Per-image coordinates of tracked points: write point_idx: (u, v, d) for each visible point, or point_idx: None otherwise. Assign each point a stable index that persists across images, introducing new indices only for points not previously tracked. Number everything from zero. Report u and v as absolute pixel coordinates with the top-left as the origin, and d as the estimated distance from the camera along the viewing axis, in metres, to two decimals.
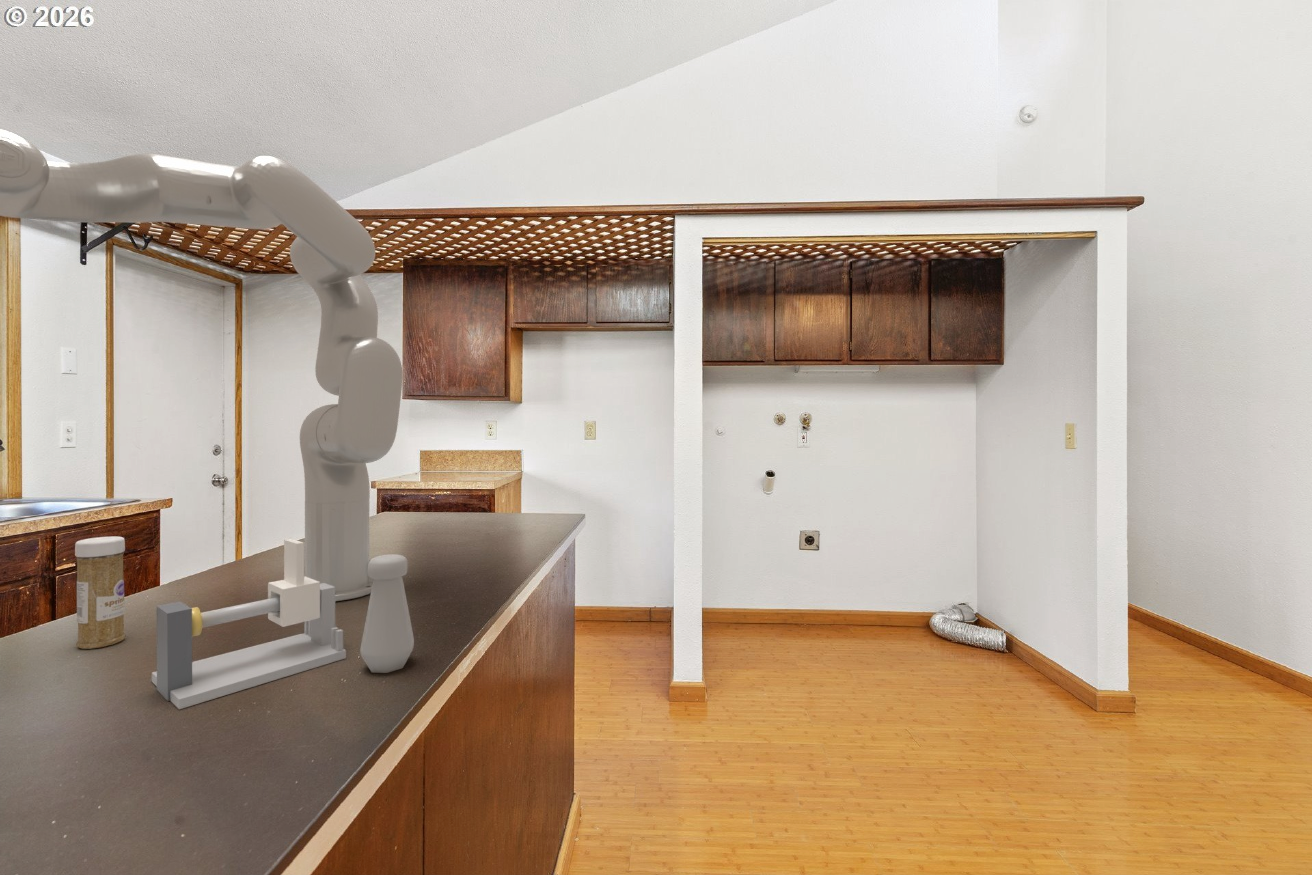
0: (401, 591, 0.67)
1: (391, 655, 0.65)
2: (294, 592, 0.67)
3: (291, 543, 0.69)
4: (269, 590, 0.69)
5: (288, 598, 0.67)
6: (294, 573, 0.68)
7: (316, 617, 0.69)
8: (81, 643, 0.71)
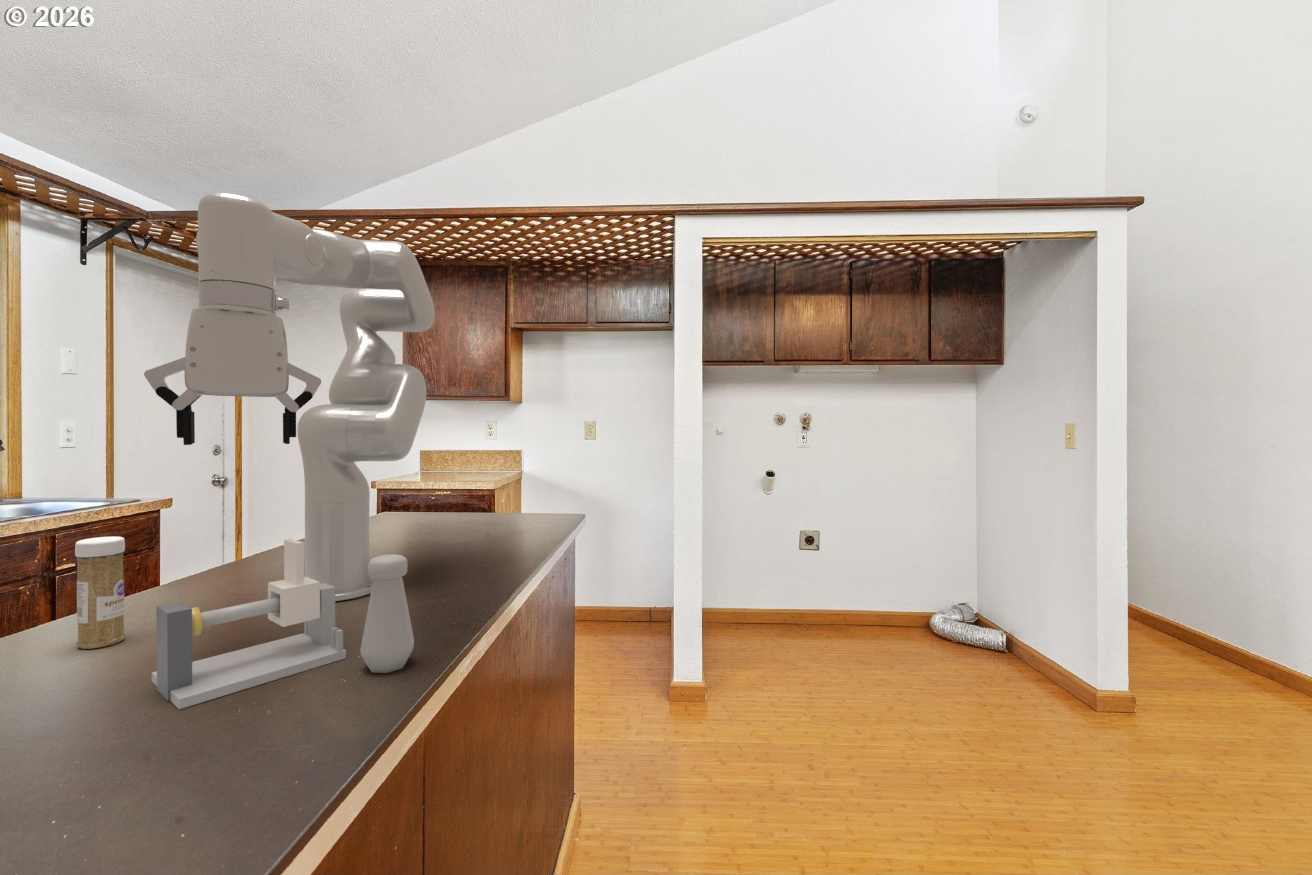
0: (401, 591, 0.67)
1: (391, 655, 0.65)
2: (294, 592, 0.67)
3: (291, 543, 0.69)
4: (269, 590, 0.69)
5: (288, 598, 0.67)
6: (294, 573, 0.68)
7: (316, 617, 0.69)
8: (81, 643, 0.71)
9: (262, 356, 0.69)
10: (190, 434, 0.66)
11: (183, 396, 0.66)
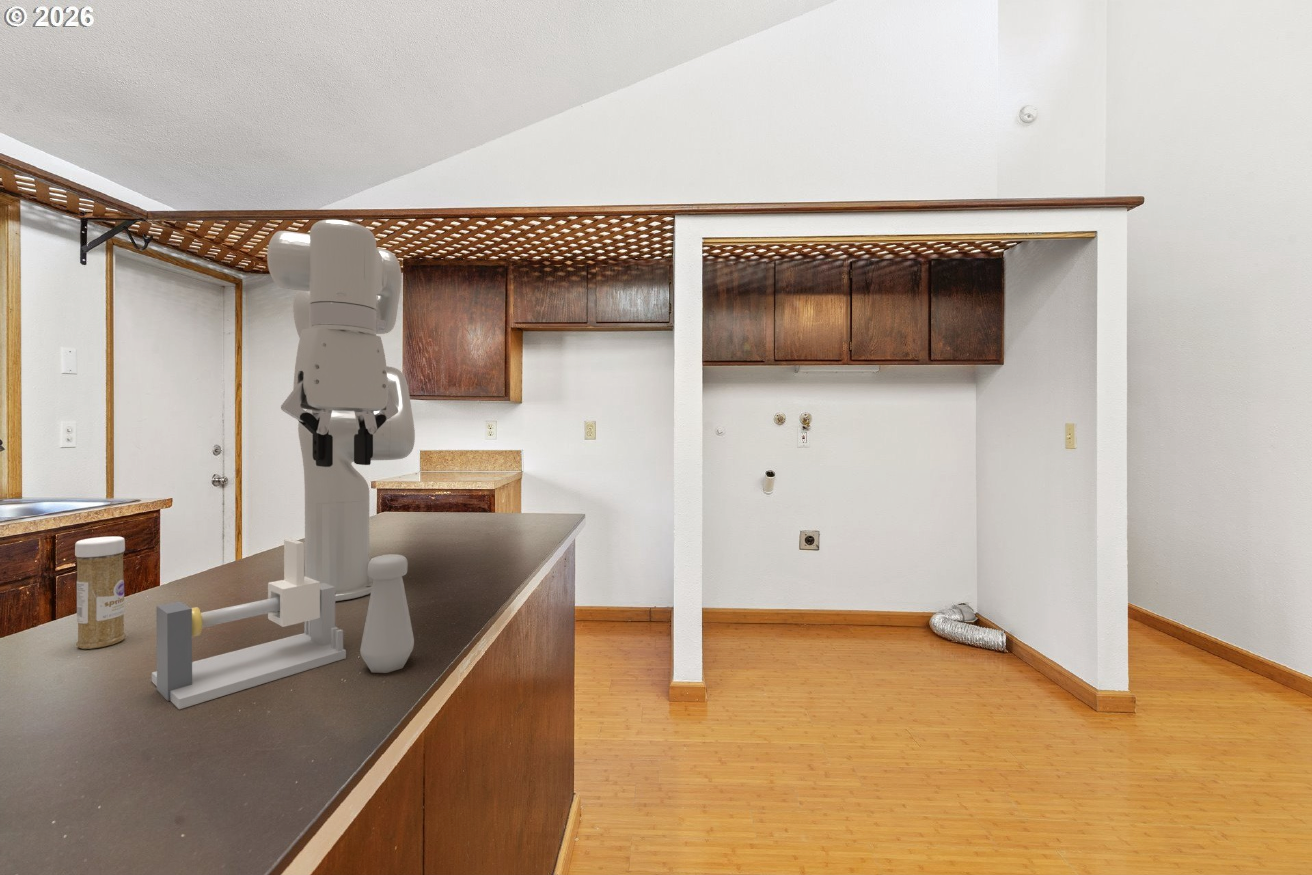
0: (401, 591, 0.67)
1: (391, 655, 0.65)
2: (294, 592, 0.67)
3: (291, 543, 0.69)
4: (269, 590, 0.69)
5: (288, 598, 0.67)
6: (294, 573, 0.68)
7: (316, 617, 0.69)
8: (81, 643, 0.71)
9: (371, 374, 0.74)
10: (331, 457, 0.71)
11: (322, 421, 0.70)
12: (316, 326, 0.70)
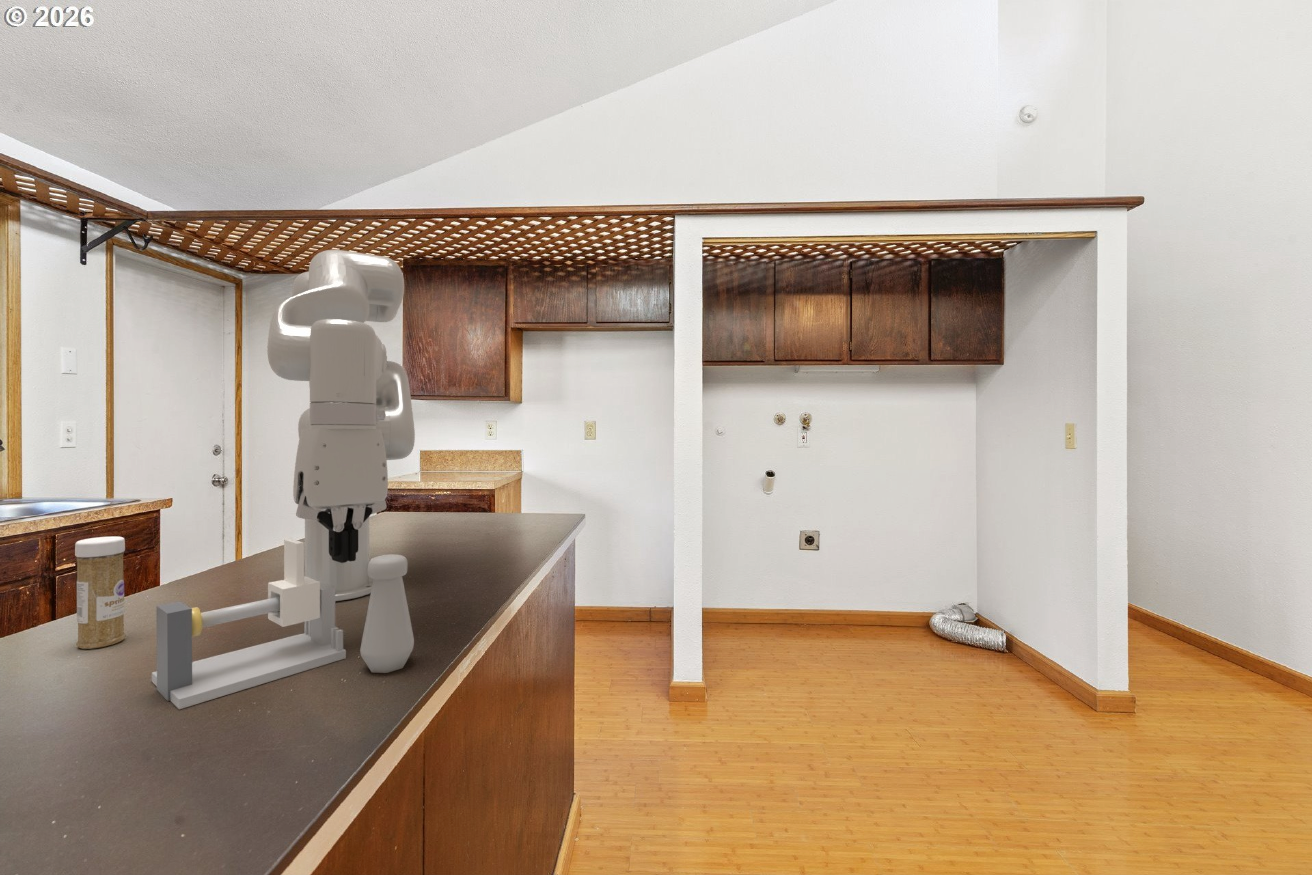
0: (401, 591, 0.67)
1: (391, 655, 0.65)
2: (294, 592, 0.67)
3: (291, 543, 0.69)
4: (269, 590, 0.69)
5: (288, 598, 0.67)
6: (294, 573, 0.68)
7: (316, 617, 0.69)
8: (81, 643, 0.71)
9: (371, 468, 0.74)
10: (347, 553, 0.73)
11: (335, 519, 0.71)
12: (316, 426, 0.70)
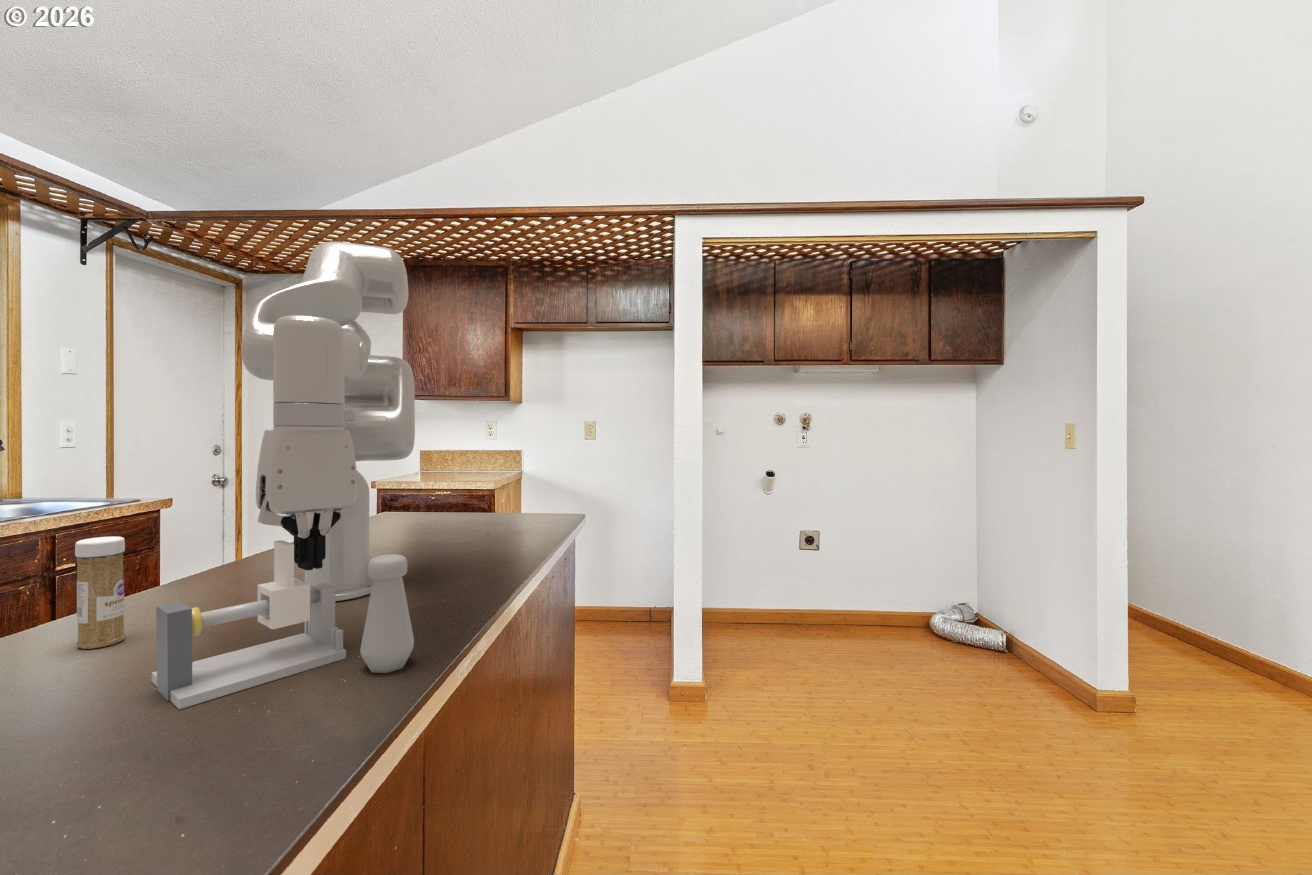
0: (401, 591, 0.67)
1: (391, 655, 0.65)
2: (284, 594, 0.66)
3: (281, 544, 0.68)
4: (259, 592, 0.68)
5: (278, 600, 0.66)
6: (284, 575, 0.67)
7: (306, 619, 0.68)
8: (81, 643, 0.71)
9: (339, 471, 0.71)
10: (313, 560, 0.69)
11: (300, 525, 0.68)
12: (279, 427, 0.67)
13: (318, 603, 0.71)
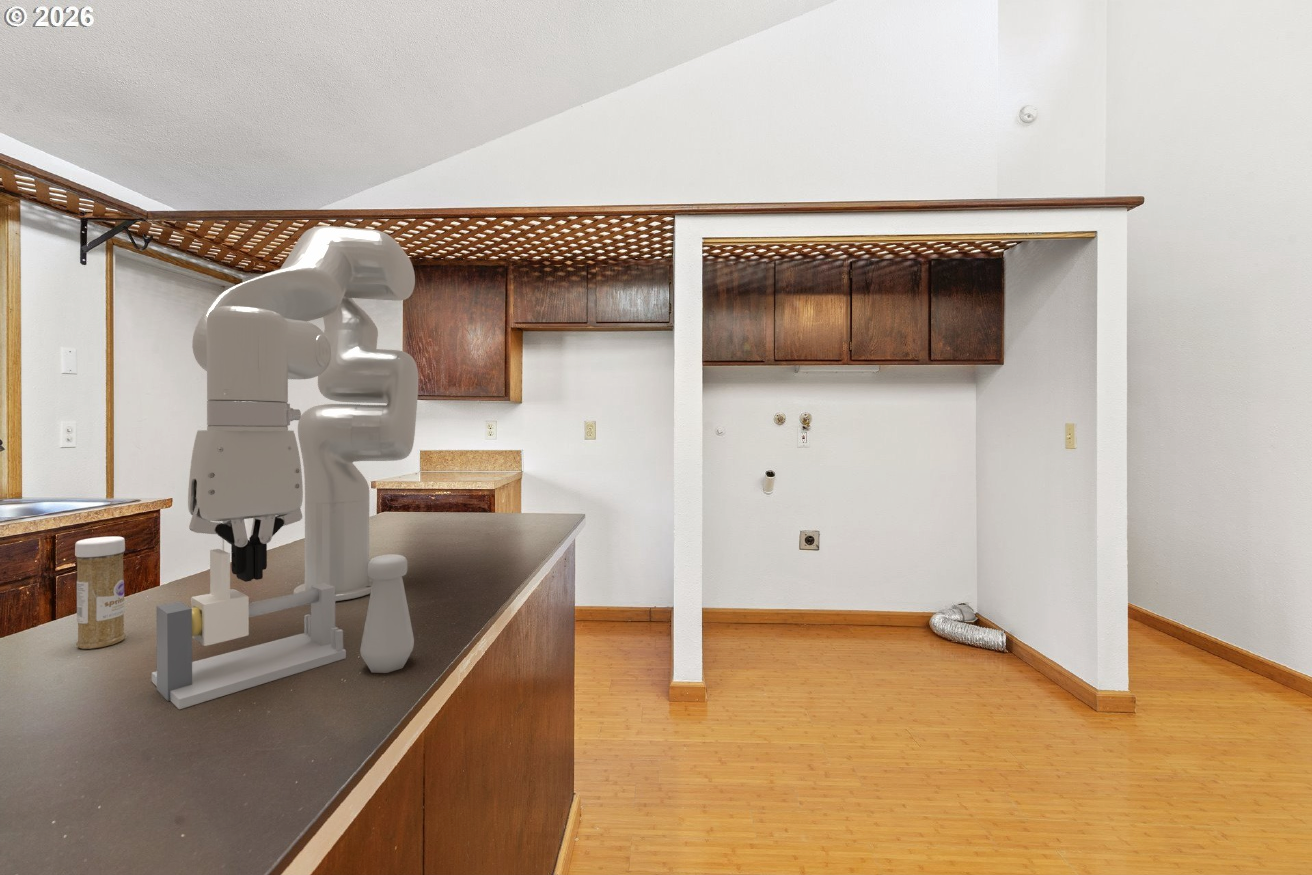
0: (401, 591, 0.67)
1: (391, 655, 0.65)
2: (218, 608, 0.61)
3: (216, 554, 0.63)
4: (193, 605, 0.63)
5: (211, 614, 0.61)
6: (219, 587, 0.62)
7: (244, 634, 0.63)
8: (81, 643, 0.71)
9: (281, 474, 0.66)
10: (252, 570, 0.64)
11: (236, 533, 0.63)
12: (212, 427, 0.62)
13: (318, 603, 0.71)
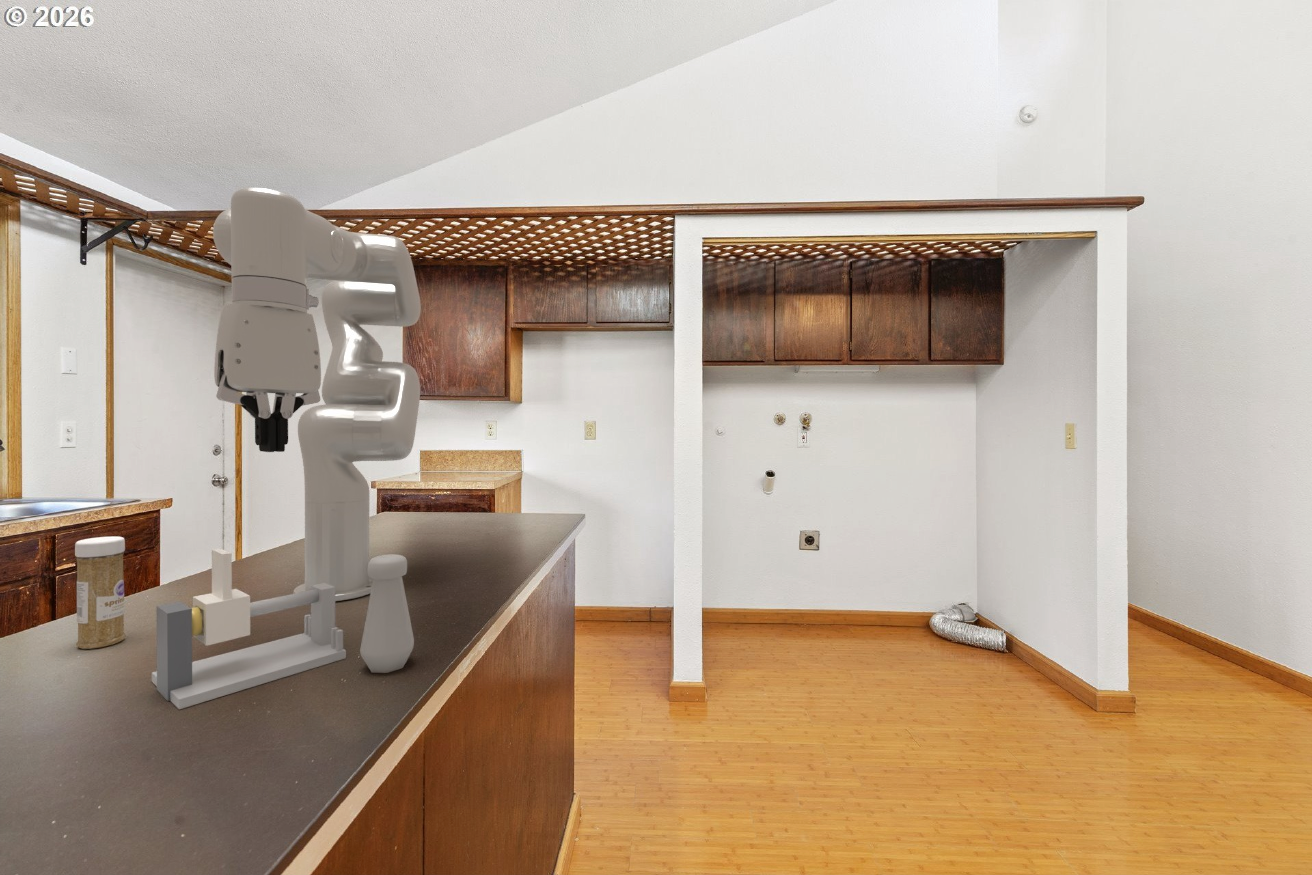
0: (401, 590, 0.67)
1: (391, 655, 0.65)
2: (219, 607, 0.62)
3: (218, 553, 0.63)
4: (194, 605, 0.63)
5: (212, 614, 0.61)
6: (220, 586, 0.62)
7: (246, 634, 0.63)
8: (81, 643, 0.71)
9: (301, 354, 0.70)
10: (275, 442, 0.68)
11: (260, 405, 0.67)
12: (238, 302, 0.65)
13: (318, 603, 0.71)
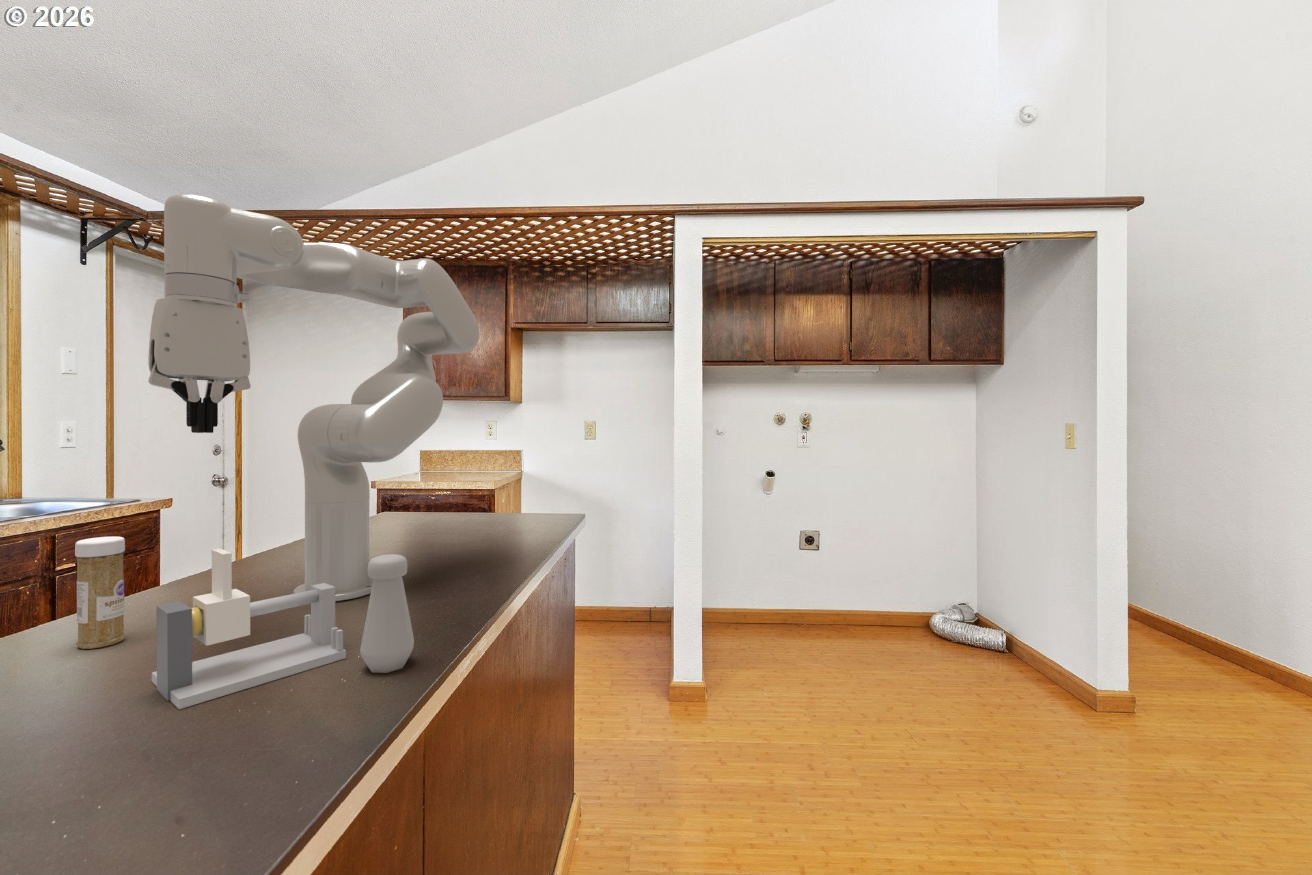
0: (401, 591, 0.67)
1: (391, 655, 0.65)
2: (219, 607, 0.62)
3: (218, 553, 0.63)
4: (194, 605, 0.63)
5: (212, 614, 0.61)
6: (220, 586, 0.62)
7: (246, 634, 0.63)
8: (81, 643, 0.71)
9: (230, 344, 0.77)
10: (204, 423, 0.75)
11: (189, 389, 0.74)
12: (168, 296, 0.73)
13: (318, 603, 0.71)
